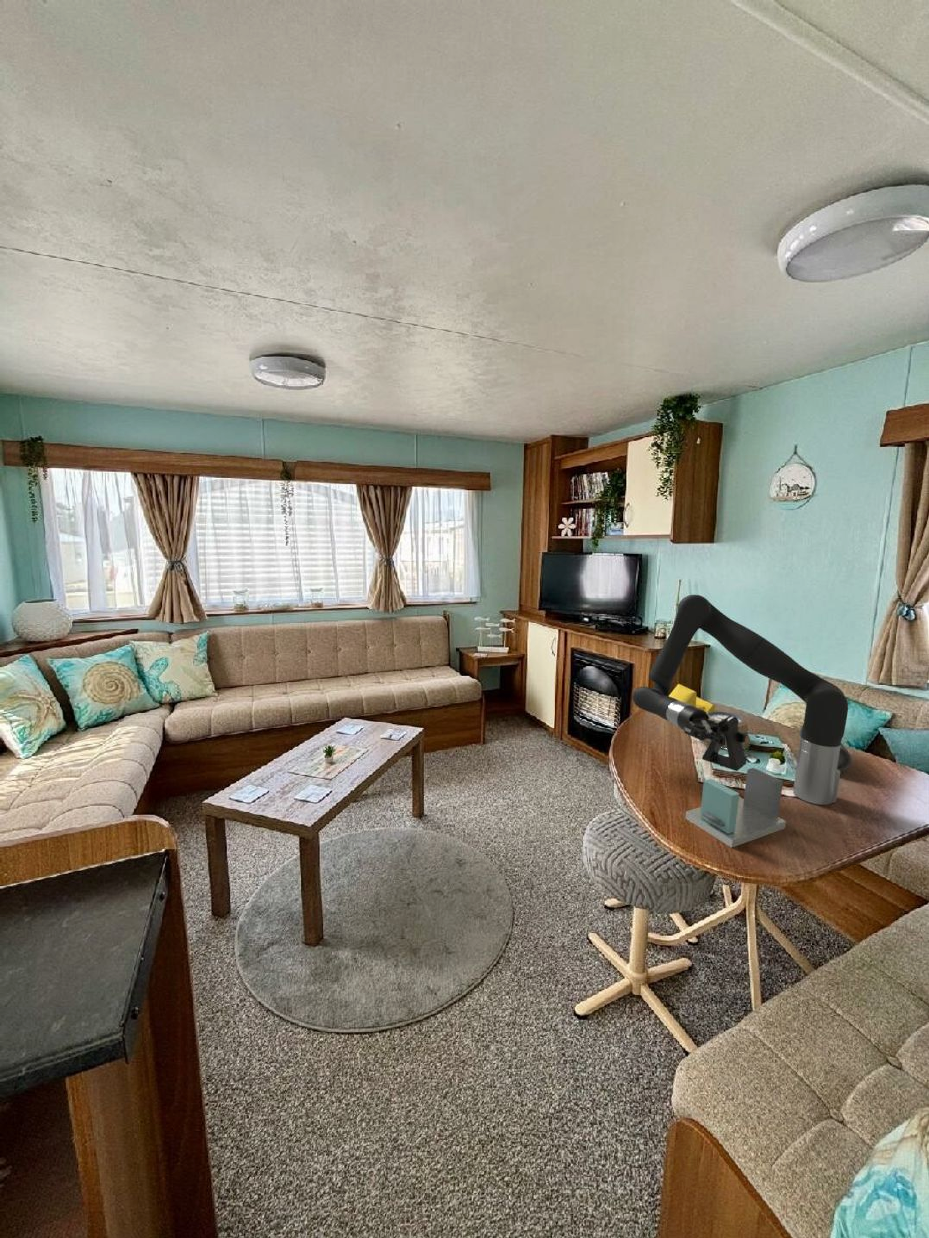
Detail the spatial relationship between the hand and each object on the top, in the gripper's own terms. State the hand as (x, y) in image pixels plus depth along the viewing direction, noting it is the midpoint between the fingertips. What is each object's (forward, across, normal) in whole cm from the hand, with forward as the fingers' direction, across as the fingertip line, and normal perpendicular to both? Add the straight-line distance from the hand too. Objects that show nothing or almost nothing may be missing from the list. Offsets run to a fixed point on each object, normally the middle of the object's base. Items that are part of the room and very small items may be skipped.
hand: (734, 740), depth 127 cm
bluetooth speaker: (-18, +59, +22) cm, 66 cm away
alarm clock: (-39, +37, +22) cm, 58 cm away
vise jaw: (+5, -8, +19) cm, 22 cm away
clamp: (-56, +44, +23) cm, 75 cm away
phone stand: (-2, 0, +7) cm, 8 cm away
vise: (+4, +1, +22) cm, 22 cm away
